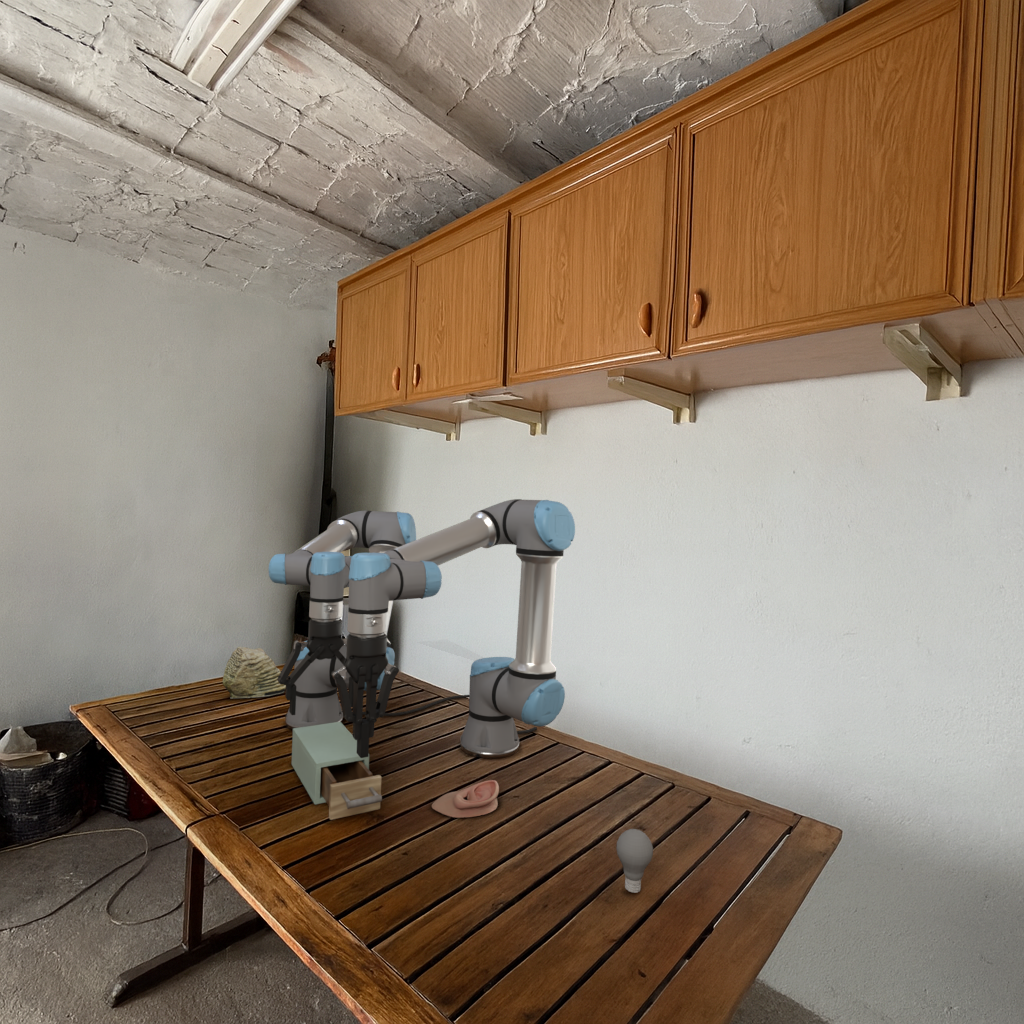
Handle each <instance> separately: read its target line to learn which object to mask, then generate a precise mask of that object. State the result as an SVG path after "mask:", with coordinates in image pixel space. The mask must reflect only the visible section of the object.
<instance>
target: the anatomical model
mask: <svg viewBox="0 0 1024 1024" xmlns="http://www.w3.org/2000/svg"><path fill="white" fill-rule="evenodd" d="M499 793H500V786H499V782H498V781H497V780H495V779H489V780H485V781H481V782H478V783H475V784H472V785H470V786H467V787H466V788H463V789H461V790H458V791H451V792H447V793H445V794H443V795H442V796H440V797H438V798H437V799H435V800H434V801H433V803H432V804H431V808H432V810H434V811H436V812H438V813H439V814H442V815H444V816H447V817H451V818H454V819H455V818H457V819H459V818H460V819H461V818H463V819H464V818H474V817H480V816H484V815H487V814H490V813H492V812H494V811H495V810H496V809H498V806H499V805H498V804H499V803H498V802H499V801H498V796H499Z"/></svg>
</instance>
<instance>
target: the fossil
mask: <svg viewBox="0 0 1024 1024" xmlns="http://www.w3.org/2000/svg"><path fill="white" fill-rule="evenodd" d="M280 673H281V669H279V668H278V667H277V665H276V663H275V662H274V660H273V659H272V658H271V657H270V656H269V655H268V654H267V653H266V652H265V650H264V649H263V648H260V647H258V648H251V647H247V646H246V647H245V646H238V647H237V648H236V649H235V650H233V651H232V653H231V656H230V657H229V659H228V660H227V663H226V666H225V668H224V671H223V675H222V676H223V677H222V685H223V687H224V688H225V690H226V691H228V693H229V698H230V699H250V698H264V697H271V696H275V695H281V694H284V693H285V692H286V685H283V684H280V683H279V682H278V680H277V679H278V676H279V675H280Z"/></svg>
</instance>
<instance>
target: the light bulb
mask: <svg viewBox="0 0 1024 1024" xmlns="http://www.w3.org/2000/svg"><path fill="white" fill-rule="evenodd" d="M615 849H616V854H617V857H618V859H619V861H620V863H621V865H622V867H623V873H624V874H623V875H624V876H625V878H624V888H625V890H627V891H628V892H630V893H634V894H635V893H639V892H640V891H641V889H642V887H641V886H642V879H643V877H644V875H645V871H646V868H647V867H648V866H649V864H650V863H651V861H652V859H653V855H654V847H653V843H652V841H651V838H649V836H648V835H647V834H646V833H645V832H643V831H642V830H641V829H636V828H629V829H627V830H625V831H623V832H622V833H621V834H620V835H619V837H618V839H617V841H616V847H615Z"/></svg>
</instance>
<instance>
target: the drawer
mask: <svg viewBox="0 0 1024 1024" xmlns="http://www.w3.org/2000/svg"><path fill="white" fill-rule="evenodd" d="M320 793H321V795H322V796H323V798H324V799H325V801H326V802H325V804H327V806H328V818H329V820H330V821H332V820H336V819H341V818H345V817H350V816H355V815H359V814H364V813H369V812H373V811H377V810H380V809H381V802H383V796H382V776H381V774H376V775H373V772H371V771H370V768H369V769H368V768H367V767H366V766H365V764H364V763H363V762H362V761H361V760H360V761H355V762H349V763H344V764H338V765H333V766H327V767H322V768H321V781H320Z"/></svg>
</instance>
